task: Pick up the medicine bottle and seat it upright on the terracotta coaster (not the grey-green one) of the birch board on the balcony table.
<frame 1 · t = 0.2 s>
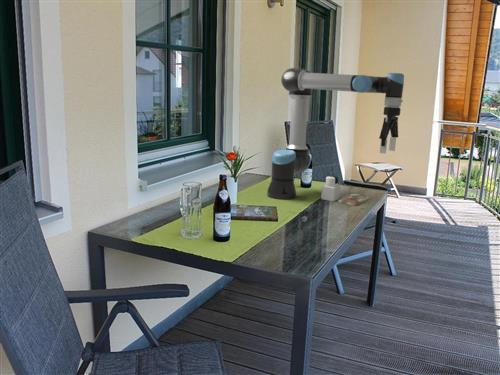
hand: (387, 151, 235), 28 cm above the table, fingers open, 13 cm apart
coaster board: (353, 200, 253), on the table
medicine bottle: (330, 199, 254), on the table
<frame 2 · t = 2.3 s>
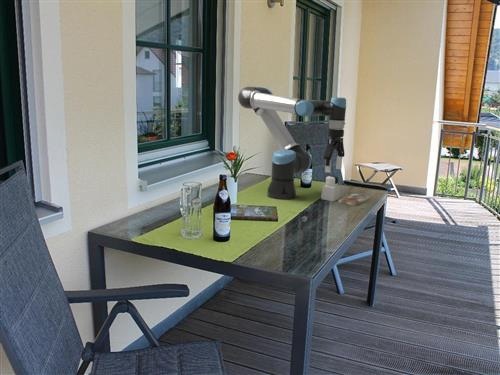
hand: (333, 170, 251), 15 cm above the table, fingers open, 13 cm apart
nothing on the table moved.
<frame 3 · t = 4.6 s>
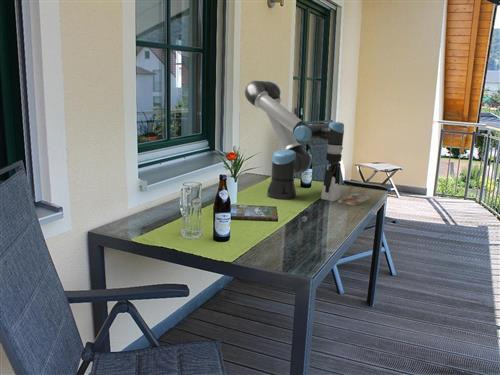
hand: (330, 197, 254), 1 cm above the table, fingers closed on medicine bottle, 7 cm apart
medicine bottle: (330, 199, 254), on the table, touching gripper
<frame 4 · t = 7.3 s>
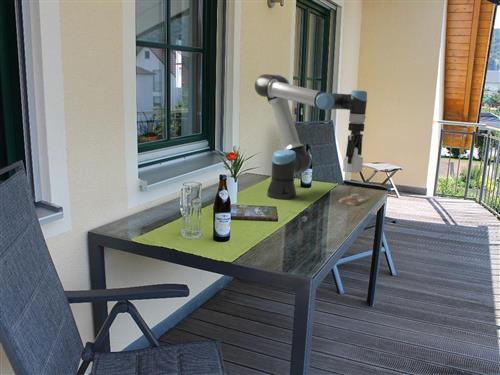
hand: (352, 169, 245), 17 cm above the table, fingers closed on medicine bottle, 7 cm apart
medicine bottle: (352, 171, 245), point 16 cm above the table, touching gripper
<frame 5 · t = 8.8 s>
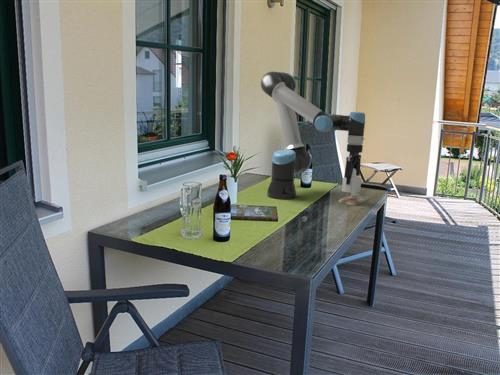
hand: (351, 189, 247), 7 cm above the table, fingers closed on medicine bottle, 7 cm apart
medicine bottle: (350, 192, 247), point 6 cm above the table, touching gripper
when the fingers open (4 cm above the table, at t = 10.2 s): medicine bottle stays where it is, resting on coaster board.
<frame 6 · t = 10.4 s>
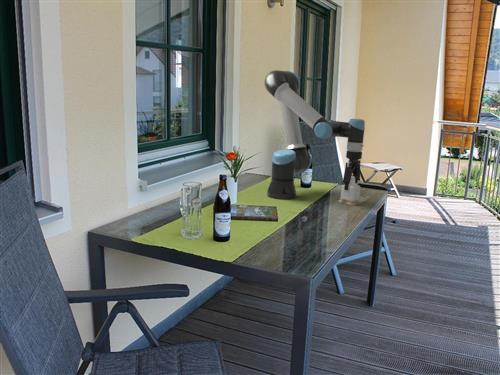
hand: (350, 194, 247), 4 cm above the table, fingers open, 10 cm apart
medicine bottle: (349, 199, 248), point 2 cm above the table, touching coaster board
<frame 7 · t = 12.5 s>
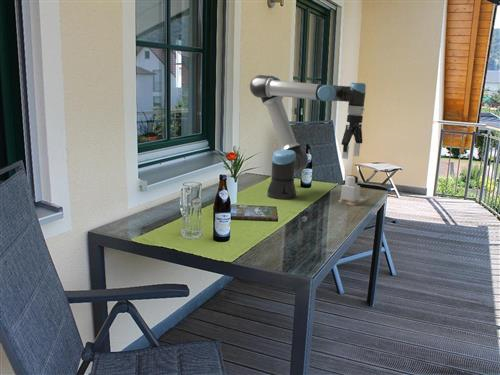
hand: (350, 157, 248), 22 cm above the table, fingers open, 13 cm apart
nothing on the table moved.
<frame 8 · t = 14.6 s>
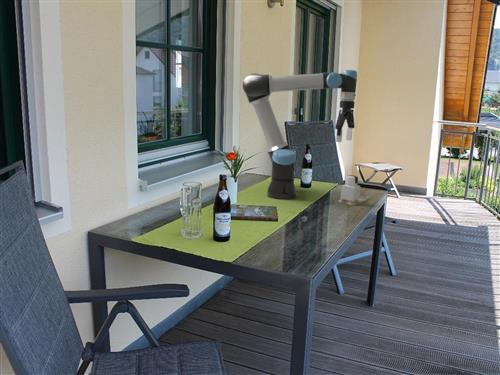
hand: (343, 141, 262), 29 cm above the table, fingers open, 13 cm apart
nothing on the table moved.
at the end: medicine bottle inside the target area on the coaster board (0.0 cm from its centre), point 1.6 cm above the coaster board's base; medicine bottle tilted 0°; the gripper is holding nothing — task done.
